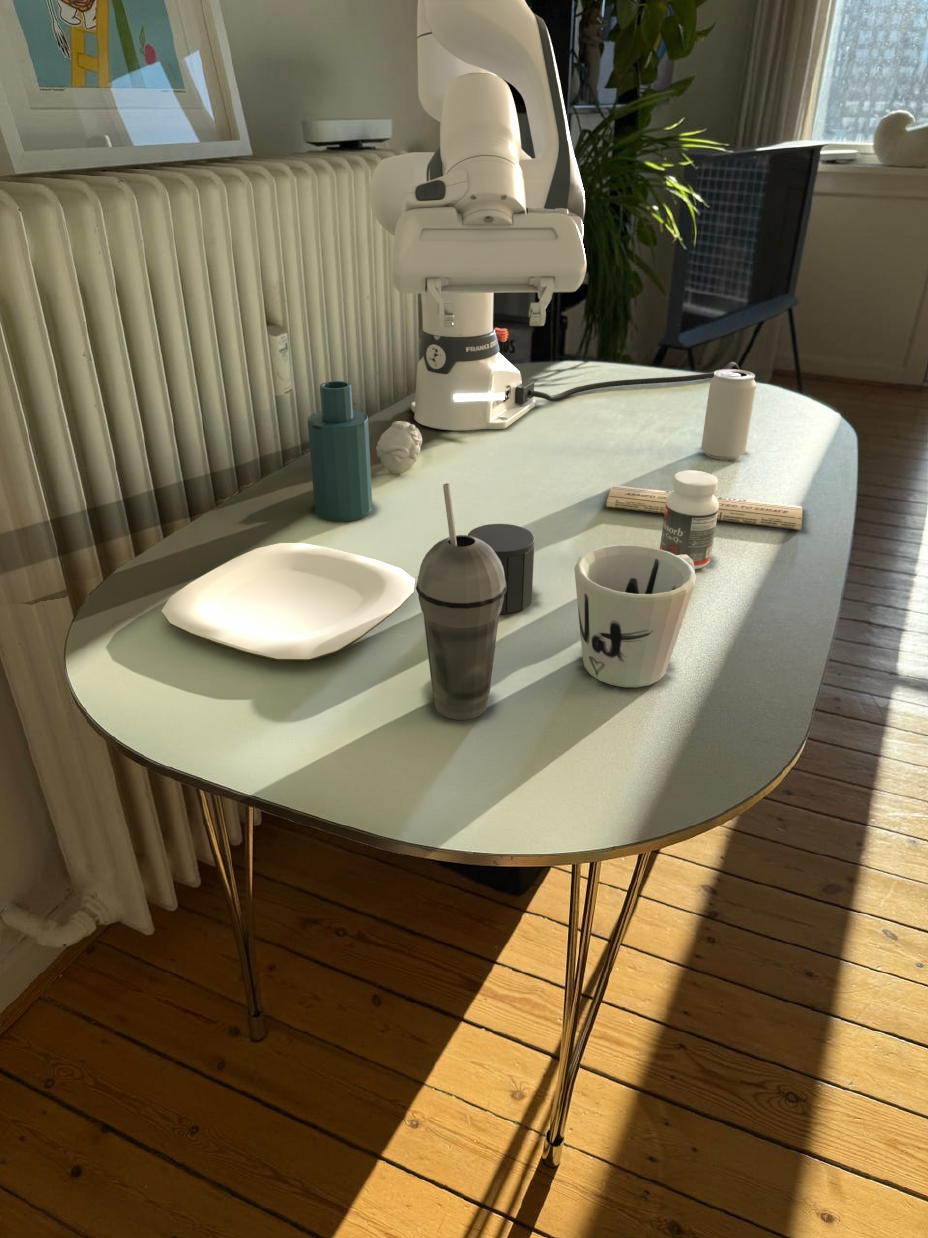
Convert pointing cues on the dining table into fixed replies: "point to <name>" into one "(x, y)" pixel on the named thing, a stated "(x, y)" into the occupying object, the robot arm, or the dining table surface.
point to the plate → (290, 601)
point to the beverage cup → (460, 618)
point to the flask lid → (511, 561)
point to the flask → (340, 456)
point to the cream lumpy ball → (399, 447)
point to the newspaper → (726, 512)
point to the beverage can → (728, 413)
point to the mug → (631, 611)
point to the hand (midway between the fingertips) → (492, 323)
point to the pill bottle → (691, 516)
